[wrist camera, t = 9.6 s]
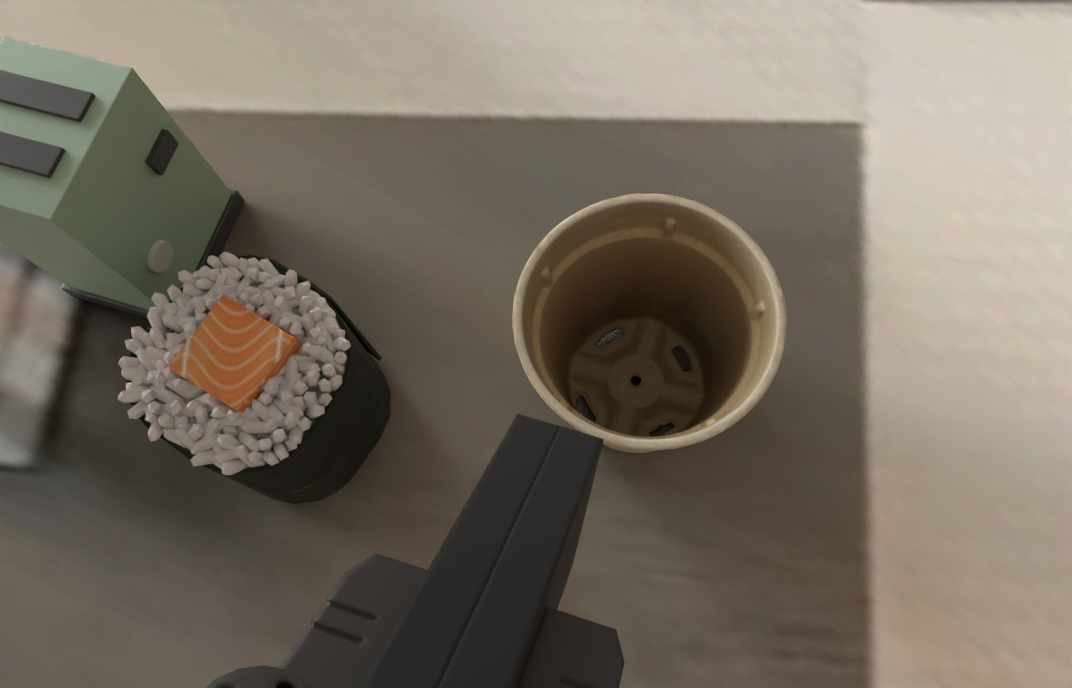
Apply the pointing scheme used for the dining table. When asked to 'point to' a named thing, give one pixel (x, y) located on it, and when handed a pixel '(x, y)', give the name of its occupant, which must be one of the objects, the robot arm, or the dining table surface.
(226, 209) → the toaster
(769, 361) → the flower pot
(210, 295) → the sushi
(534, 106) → the dining table surface
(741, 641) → the dining table surface
